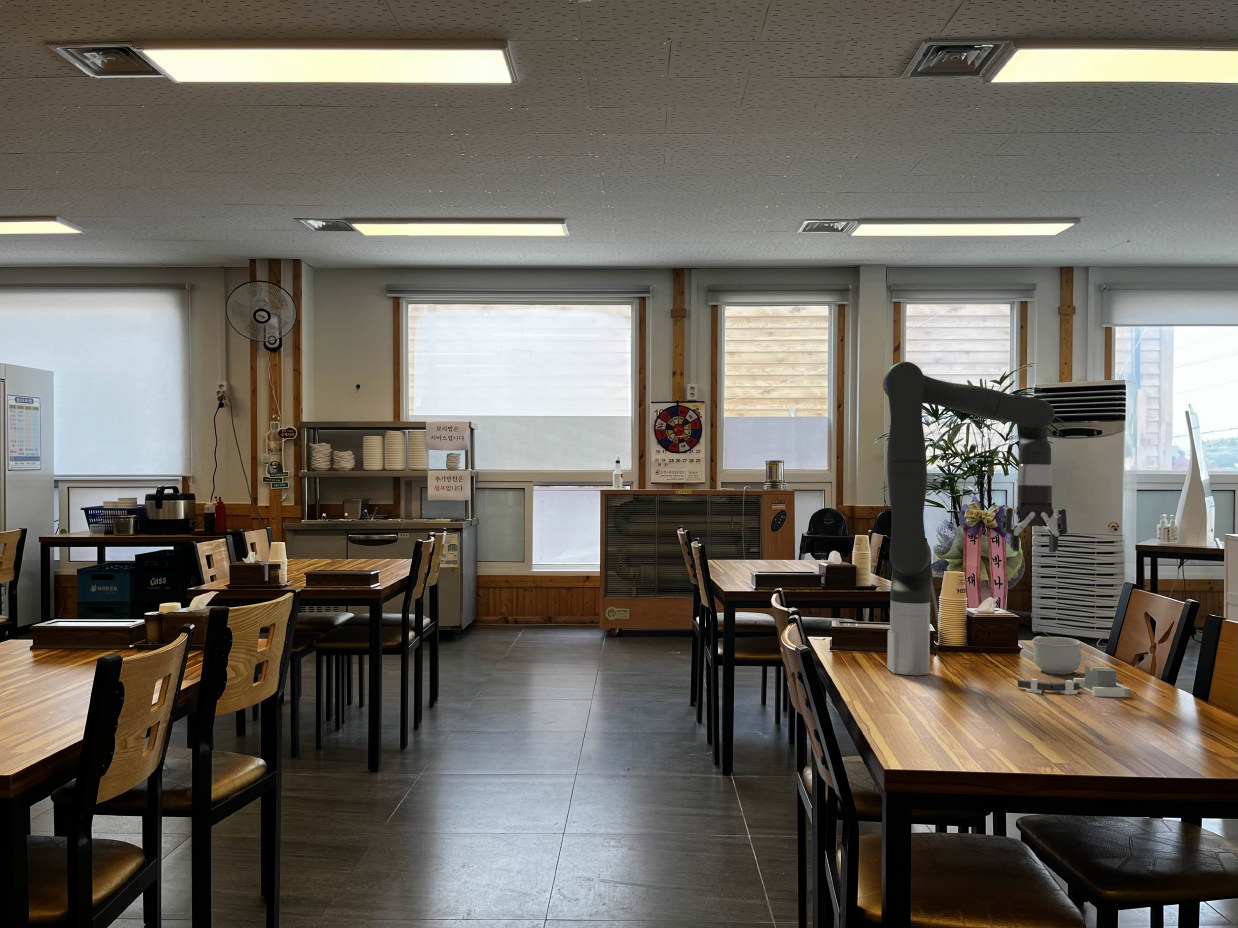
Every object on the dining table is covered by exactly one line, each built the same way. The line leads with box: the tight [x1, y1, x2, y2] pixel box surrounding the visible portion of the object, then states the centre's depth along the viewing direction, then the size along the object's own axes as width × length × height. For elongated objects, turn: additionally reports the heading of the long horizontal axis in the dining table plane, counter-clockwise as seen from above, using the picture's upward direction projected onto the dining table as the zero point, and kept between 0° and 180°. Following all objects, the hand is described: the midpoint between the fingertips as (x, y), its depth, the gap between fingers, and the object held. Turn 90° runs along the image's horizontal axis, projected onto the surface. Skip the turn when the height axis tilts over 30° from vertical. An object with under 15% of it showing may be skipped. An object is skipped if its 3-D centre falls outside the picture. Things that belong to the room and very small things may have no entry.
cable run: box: [1017, 679, 1080, 692], centre depth 203 cm, size 13×4×1 cm, turn 88°
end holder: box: [1073, 677, 1131, 698], centre depth 203 cm, size 8×10×2 cm
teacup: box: [1031, 636, 1082, 676], centre depth 226 cm, size 14×11×8 cm
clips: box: [1025, 678, 1078, 696], centre depth 203 cm, size 11×6×3 cm, turn 88°
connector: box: [1084, 664, 1117, 690], centre depth 203 cm, size 4×6×5 cm, turn 178°
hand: (1034, 551), depth 216 cm, fingers open, 8 cm apart
